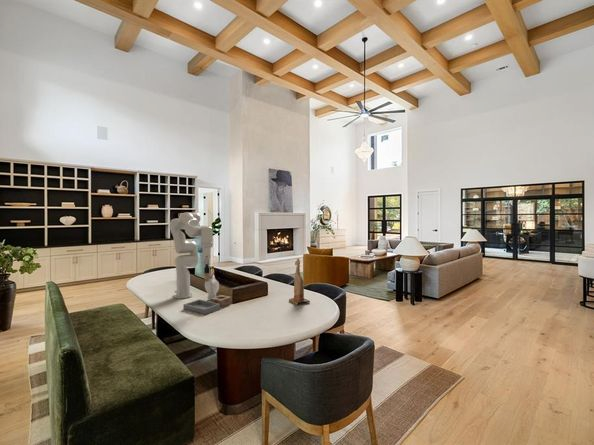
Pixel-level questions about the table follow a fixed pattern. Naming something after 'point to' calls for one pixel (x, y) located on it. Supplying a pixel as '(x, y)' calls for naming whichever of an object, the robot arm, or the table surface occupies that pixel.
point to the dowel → (207, 274)
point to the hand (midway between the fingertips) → (207, 272)
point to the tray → (201, 307)
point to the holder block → (222, 300)
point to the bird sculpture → (298, 286)
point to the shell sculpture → (212, 287)
